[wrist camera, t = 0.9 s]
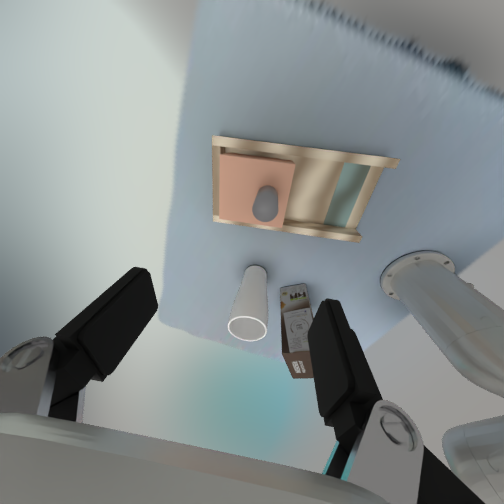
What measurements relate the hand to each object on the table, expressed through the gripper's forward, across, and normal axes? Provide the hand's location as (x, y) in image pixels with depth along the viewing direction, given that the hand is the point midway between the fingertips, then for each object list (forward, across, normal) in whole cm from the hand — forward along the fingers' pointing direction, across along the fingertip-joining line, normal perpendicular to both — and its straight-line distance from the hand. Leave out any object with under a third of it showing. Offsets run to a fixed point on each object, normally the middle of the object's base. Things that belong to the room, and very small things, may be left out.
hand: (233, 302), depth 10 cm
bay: (+26, -5, -1) cm, 27 cm away
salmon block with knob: (+25, +1, -1) cm, 25 cm away
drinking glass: (+27, -1, +19) cm, 33 cm away
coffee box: (+27, -12, +25) cm, 38 cm away
